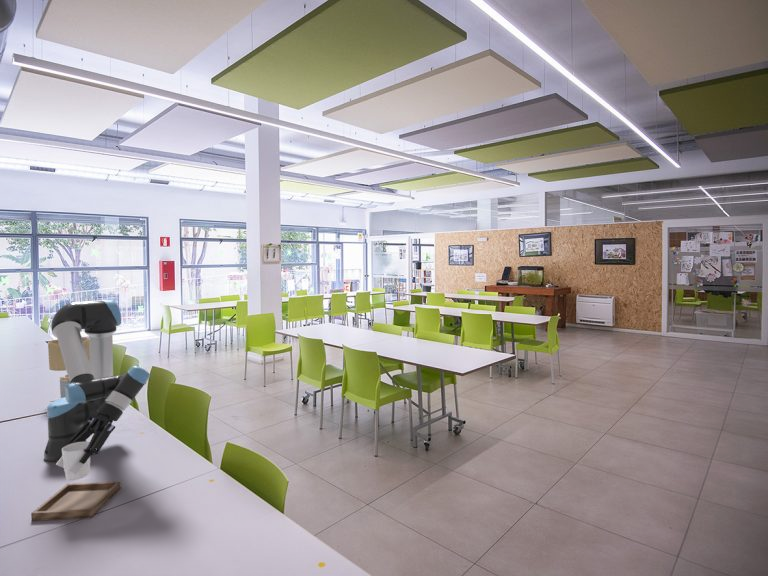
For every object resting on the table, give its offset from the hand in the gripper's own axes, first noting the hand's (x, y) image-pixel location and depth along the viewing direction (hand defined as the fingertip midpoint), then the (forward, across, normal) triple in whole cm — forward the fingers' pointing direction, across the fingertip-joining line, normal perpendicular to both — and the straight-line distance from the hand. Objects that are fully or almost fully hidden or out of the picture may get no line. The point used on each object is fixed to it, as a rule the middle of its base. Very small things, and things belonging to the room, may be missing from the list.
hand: (65, 469), depth 143 cm
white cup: (0, 0, -5) cm, 5 cm away
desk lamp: (-30, +120, -49) cm, 133 cm away
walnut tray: (+7, 0, -12) cm, 14 cm away
